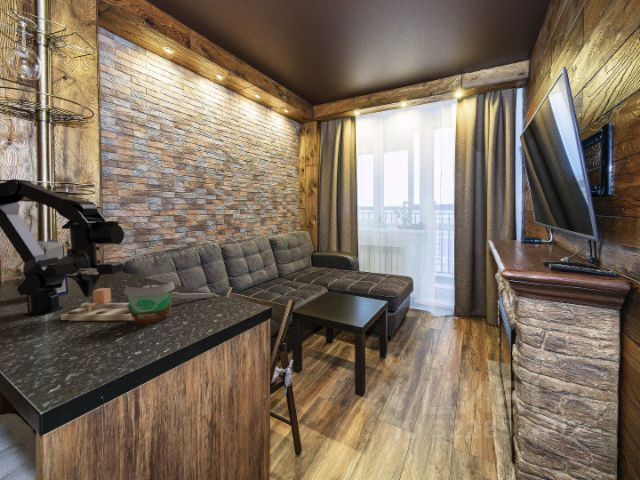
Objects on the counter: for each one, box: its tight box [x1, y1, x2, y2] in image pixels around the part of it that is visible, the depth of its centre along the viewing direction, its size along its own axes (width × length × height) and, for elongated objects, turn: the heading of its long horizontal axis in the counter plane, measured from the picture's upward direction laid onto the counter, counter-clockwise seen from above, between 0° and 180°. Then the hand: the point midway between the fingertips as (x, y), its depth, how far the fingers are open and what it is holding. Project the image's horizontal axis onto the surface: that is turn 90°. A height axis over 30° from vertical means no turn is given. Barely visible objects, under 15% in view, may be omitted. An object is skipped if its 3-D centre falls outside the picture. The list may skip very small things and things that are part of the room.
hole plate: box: [60, 302, 132, 321], centre depth 87 cm, size 19×11×6 cm, turn 91°
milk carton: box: [36, 238, 69, 297], centre depth 106 cm, size 7×7×20 cm
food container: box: [123, 280, 176, 325], centre depth 81 cm, size 12×6×10 cm, turn 117°
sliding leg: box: [87, 287, 112, 311], centre depth 87 cm, size 3×7×5 cm, turn 1°
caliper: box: [171, 291, 219, 302], centre depth 99 cm, size 20×1×6 cm, turn 137°
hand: (88, 296), depth 89 cm, fingers closed
